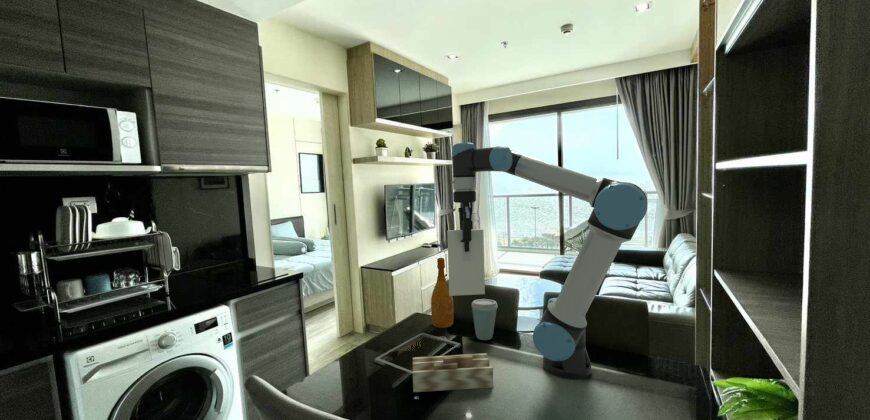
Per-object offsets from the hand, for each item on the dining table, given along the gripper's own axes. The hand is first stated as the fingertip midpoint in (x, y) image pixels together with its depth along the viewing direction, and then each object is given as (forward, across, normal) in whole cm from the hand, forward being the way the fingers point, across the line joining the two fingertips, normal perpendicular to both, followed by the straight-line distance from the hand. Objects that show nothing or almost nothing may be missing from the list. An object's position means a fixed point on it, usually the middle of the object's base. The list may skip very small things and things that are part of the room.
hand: (466, 260), depth 121 cm
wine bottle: (+37, -36, -6) cm, 52 cm away
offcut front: (+35, +14, -9) cm, 39 cm away
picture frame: (+37, -11, -16) cm, 42 cm away
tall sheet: (+12, 0, 0) cm, 12 cm away
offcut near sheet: (+35, +12, -5) cm, 38 cm away
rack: (+36, +12, -7) cm, 39 cm away
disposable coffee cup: (+37, -21, +10) cm, 43 cm away
